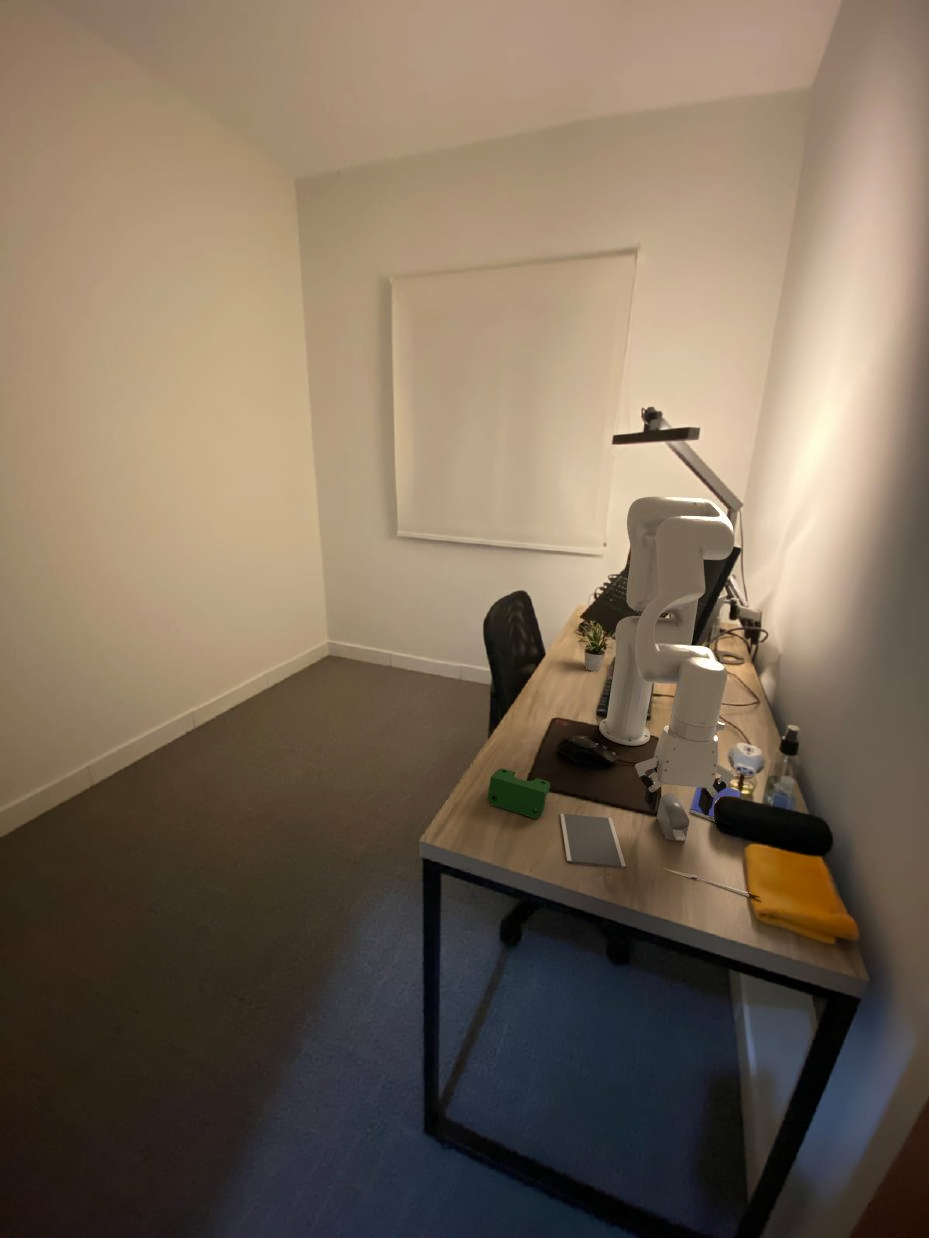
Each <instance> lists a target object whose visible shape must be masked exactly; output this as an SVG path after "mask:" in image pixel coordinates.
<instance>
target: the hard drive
mask: <svg viewBox="0 0 929 1238" xmlns="http://www.w3.org/2000/svg"><path fill="white" fill-rule="evenodd" d="M701 789H702V788H701V787H696V790H695V793H694V796H693V799H692V803H691V805H690V808H689V809H690V810H689V813H691V814H694V815H697V816H699V817H702V818H704V819H707V820H710V821H712V822H715V820H714V804H715V801H716V800H717V799H718V798H719V797H722V796H727V795H729V796H736V797H740V798H741V793H742V792H741V791H740V790H738V789H736V788H733V787H729V786H727V787H726V788H725V789H724V790H722V791H720V792H719V793H718V796H717V797H714V800H713V804H712V808H711V809H710V811H709V815H708V816H706V815H704V814H703V812H702V811H701V809H700V807H699V805H698V803H699V798H700V794H701Z"/></svg>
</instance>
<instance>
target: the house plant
mask: <svg viewBox="0 0 929 1238" xmlns="http://www.w3.org/2000/svg"><path fill="white" fill-rule="evenodd" d="M590 623H591V632H592V635H590V633H588V631H587V630H586V628H585V627H584V626H582V625H580V624H579V626H580V627H582V629H583V630H584V634H585V635H586V636H587V638H588V640H584V639H583V638H582V637H580V636H575V637H577V638H579V639H580V640H579V639H578V641H577V643H581V642H583V643H584V644H585V648H584V650H583V651H584V668H585V667H586V668H587V669H588V670H587V669H586V668H585V669H586V670H587V671H589V670H591V671H590V672H594V671H596V672H600V671H601V670H600V669H602V667H603V663H604V660H605V657H606V654H607V653H606V651H605V650H606V649H613V647H611V646H609V645H608V643H606V642H607V641H610V640H611V641H612V638H611V639H610V634H611V633H612V632H613V630H612V631H610V632H609V633H608V634H607V635H606V636H605V637H604V638H603V640H601V638H602V634H603V627H602V626H603V624H602V625H600V624H599V623H598V622H597V624H596V625H595V624H594V622H593V621H592V620H590ZM575 625H577V626H578V624H575ZM613 635H614V636H615V633H614V634H612V636H613ZM608 636H609V637H608ZM607 646H609V647H607ZM599 670H600V671H599Z"/></svg>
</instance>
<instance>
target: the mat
mask: <svg viewBox="0 0 929 1238" xmlns="http://www.w3.org/2000/svg"><path fill="white" fill-rule="evenodd" d="M559 818H560V825H561V831H562V837H563V845H564V851H565V856H566V858H565V859H566V862H567V863H568V864H580V865H589V866H599V867H609V868H611V867H612V868H621V869H622V868H623V869H626V867H627V864H626V861H625V858H624V855H623V852H622V848H621V846H620V842H619V838H618V834H617V832H616V828H615V824H614V820H613V818H612V817H602V816H601V817H600V816H592V815H591V816H590V815H577V814H569V813H568V814H567V813H559Z"/></svg>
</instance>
